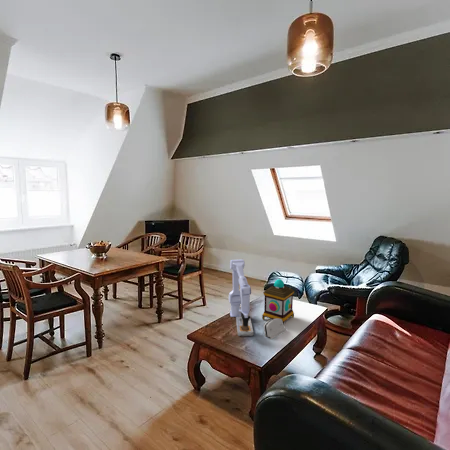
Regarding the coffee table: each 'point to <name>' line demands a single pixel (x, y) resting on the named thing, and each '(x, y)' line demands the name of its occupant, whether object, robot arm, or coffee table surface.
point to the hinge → (274, 328)
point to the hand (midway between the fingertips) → (245, 323)
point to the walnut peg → (244, 326)
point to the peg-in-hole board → (244, 332)
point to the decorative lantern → (278, 302)
